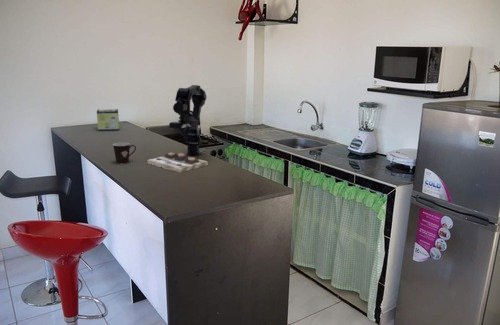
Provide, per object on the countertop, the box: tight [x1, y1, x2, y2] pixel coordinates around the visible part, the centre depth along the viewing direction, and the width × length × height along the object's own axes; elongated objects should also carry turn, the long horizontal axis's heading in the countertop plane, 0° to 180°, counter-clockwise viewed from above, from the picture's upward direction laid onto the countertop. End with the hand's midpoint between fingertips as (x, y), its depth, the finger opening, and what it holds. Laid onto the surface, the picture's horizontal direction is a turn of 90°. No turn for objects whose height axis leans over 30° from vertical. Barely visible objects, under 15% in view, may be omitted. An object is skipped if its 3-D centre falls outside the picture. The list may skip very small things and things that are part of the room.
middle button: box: [177, 152, 186, 158], centre depth 208 cm, size 4×4×2 cm
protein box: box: [96, 109, 120, 132], centre depth 297 cm, size 10×16×16 cm
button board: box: [146, 152, 209, 174], centre depth 206 cm, size 20×26×4 cm
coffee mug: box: [112, 142, 137, 164], centre depth 207 cm, size 12×9×10 cm
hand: (185, 139), depth 214 cm, fingers closed
